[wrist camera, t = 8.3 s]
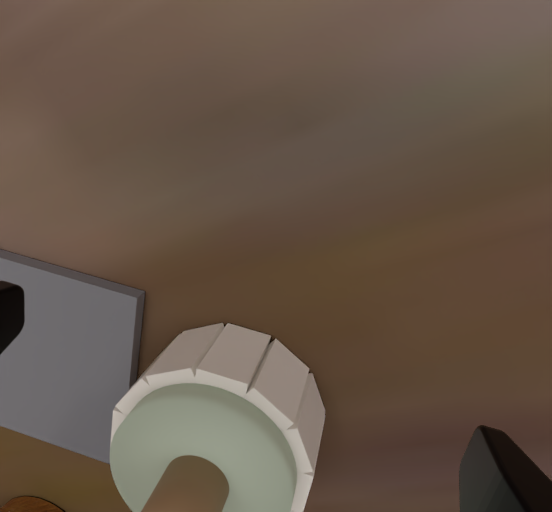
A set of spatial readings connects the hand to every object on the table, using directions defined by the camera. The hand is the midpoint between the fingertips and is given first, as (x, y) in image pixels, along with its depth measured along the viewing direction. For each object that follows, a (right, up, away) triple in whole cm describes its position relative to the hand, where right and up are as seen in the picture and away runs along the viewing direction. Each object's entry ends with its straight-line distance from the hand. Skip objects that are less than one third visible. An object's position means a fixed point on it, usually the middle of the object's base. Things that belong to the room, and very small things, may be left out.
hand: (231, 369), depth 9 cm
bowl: (-1, -6, +15) cm, 16 cm away
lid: (-2, -7, +12) cm, 14 cm away
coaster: (-12, -3, +17) cm, 21 cm away
